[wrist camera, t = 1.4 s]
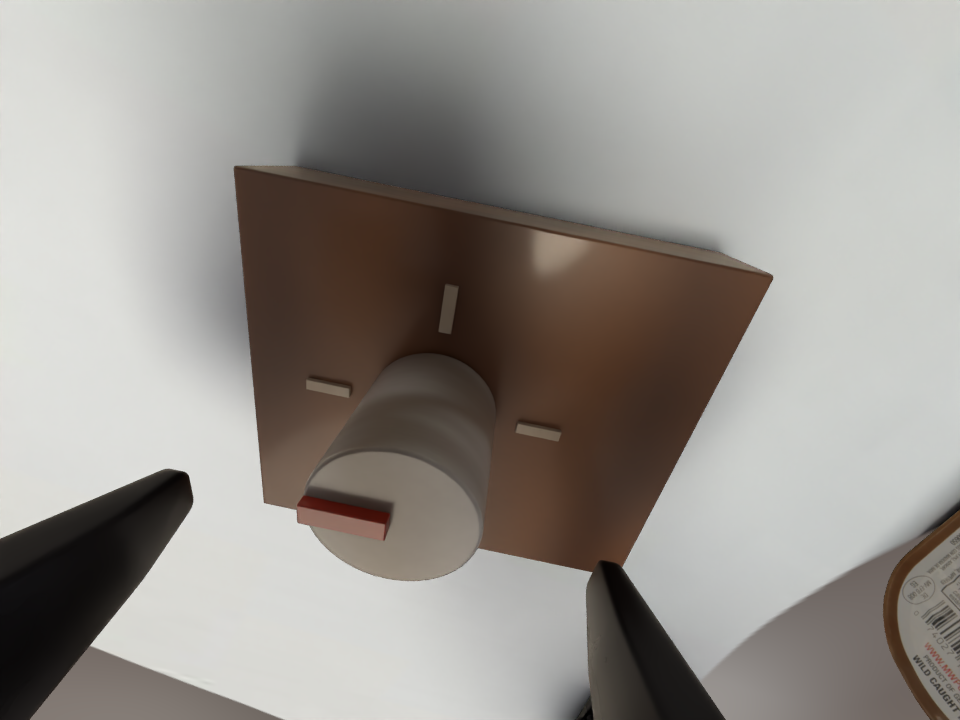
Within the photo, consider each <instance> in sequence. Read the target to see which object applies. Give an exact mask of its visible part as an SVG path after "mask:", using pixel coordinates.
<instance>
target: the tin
mask: <svg viewBox="0 0 960 720" xmlns="http://www.w3.org/2000/svg"><path fill="white" fill-rule="evenodd" d="M883 618H884V627H885V633H886V638H887V642H888V645H889V649H890V652H891V654H892V657H893V659H894V661H895V663H896V665H897V667H898V668H899V670H900V672H901V674H902V676H903V678H904V679H905V681H906V683H907V685H908V687H909V689H910V690H911V692H912V693H913V695H914V697H915V699H916V700H917V702H918V703H919V705H920V706H921V708H922V709H923V710H924V712H925V713H926V714H927V716H928V717H929V718H930V720H960V510H959V511H957V512H956V513H955V514H954V515H953V516H951V517H950V518H949V519H948V520H947V521H945V522H944V523H943V524H942V525H941V526H939V527H938V528H937V529H936V530H934V531H933V532H932V533H931V534H930V535H928V536H927V537H926V538H925V539H924V540H922V541H921V542H920V543H919V544H918V545H917V546H915V547H914V548H913V549H912V550H911V551H909V552H908V553H907V554H906V555H905V556H904V557H903V558H902V559H901V560H900V562H899V563H898V564H897V566H896V567H895V569H894V570H893V572H892V574H891V577H890V579H889V581H888V584H887V588H886V592H885V595H884V604H883Z"/></svg>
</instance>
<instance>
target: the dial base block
mask: <svg viewBox="0 0 960 720" xmlns="http://www.w3.org/2000/svg"><path fill="white" fill-rule="evenodd" d="M234 177H235V188H236V199H237V210H238V221H239V232H240V243H241V254H242V265H243V276H244V287H245V298H246V309H247V320H248V332H249V343H250V354H251V365H252V376H253V387H254V398H255V409H256V420H257V431H258V442H259V453H260V464H261V475H262V486H263V497H264V503H267V504H271V505H276V506H281V507H286V508H290V509H295V510H297V504H298V502H299V501H300V499H301V498H302V496H303V495H304V490H305V486H306V483H307V481H308V478H309V476H310V475H311V473H312V472H313V470H314V469H315V467H316V466H317V464H318V463H319V462H320V460H321V459H322V457H323V456H324V454H325V453H326V451H327V450H328V449H329V447H330V446H331V444H332V443H333V441H334V440H335V438H336V437H337V435H338V434H339V433H340V431H341V430H342V428H343V427H344V425H345V424H346V422H347V421H348V420H349V418H350V417H351V415H352V414H353V412H354V411H355V409H356V408H357V407H358V405H359V404H360V402H361V401H362V399H363V398H364V396H365V395H366V394H367V392H368V391H369V389H370V388H371V386H372V385H373V383H374V382H375V380H376V379H377V378H378V376H379V375H380V373H381V372H382V371H383V370H384V369H385V368H386V367H387V366H389V365H390V364H391V363H393V362H394V361H396V360H398V359H400V358H403V357H406V356H409V355H413V354H421V353H434V354H441V355H445V356H449V357H452V358H454V359H457V360H459V361H461V362H463V363H464V364H466V365H468V366H469V367H470V368H472V369H473V370H474V371H475V372H476V373H478V374H479V375H480V377H481V378H482V379H483V380H484V381H485V383H486V384H487V386H488V387H489V389H490V391H491V393H492V395H493V398H494V402H495V407H496V420H495V429H494V438H493V447H492V456H491V465H490V474H489V483H488V492H487V501H486V510H485V520H484V529H483V535H482V539H481V542H480V544H479V546H478V548H480V549H485V550H489V551H494V552H499V553H504V554H508V555H513V556H518V557H523V558H527V559H532V560H537V561H541V562H546V563H551V564H556V565H560V566H565V567H570V568H575V569H579V570H584V571H589V572H593V571H594V569H595V566H596V564H597V563H598V561H600V560H605V561H610V562H615V563H618V564H619V565H620V566H621V567H622V566H623V564H624V562H625V561H626V559H627V557H628V555H629V553H630V551H631V549H632V547H633V545H634V543H635V541H636V540H637V538H638V536H639V534H640V532H641V530H642V528H643V526H644V524H645V522H646V520H647V519H648V517H649V515H650V513H651V511H652V509H653V507H654V505H655V503H656V501H657V499H658V498H659V496H660V494H661V492H662V490H663V488H664V486H665V484H666V482H667V480H668V479H669V477H670V475H671V473H672V471H673V469H674V467H675V465H676V463H677V461H678V459H679V458H680V456H681V454H682V452H683V450H684V448H685V446H686V444H687V442H688V440H689V438H690V437H691V435H692V433H693V431H694V429H695V427H696V425H697V423H698V421H699V419H700V417H701V416H702V414H703V412H704V410H705V408H706V406H707V404H708V402H709V400H710V398H711V396H712V395H713V393H714V391H715V389H716V387H717V385H718V383H719V381H720V379H721V377H722V375H723V374H724V372H725V370H726V368H727V366H728V364H729V362H730V360H731V358H732V356H733V354H734V353H735V351H736V349H737V347H738V345H739V343H740V341H741V339H742V337H743V335H744V333H745V332H746V330H747V328H748V326H749V324H750V322H751V320H752V318H753V316H754V314H755V312H756V311H757V309H758V307H759V305H760V303H761V301H762V299H763V297H764V295H765V293H766V291H767V290H768V288H769V286H770V284H771V282H772V280H773V276H772V275H771V274H769V273H767V272H764V271H762V270H760V269H757V268H755V267H753V266H750V265H748V264H746V263H744V262H741V261H739V260H737V259H734V258H732V257H730V256H728V255H725V254H723V253H720V252H715V251H710V250H705V249H700V248H696V247H691V246H686V245H681V244H676V243H671V242H666V241H661V240H656V239H651V238H646V237H642V236H637V235H632V234H627V233H622V232H617V231H612V230H607V229H602V228H597V227H592V226H588V225H583V224H578V223H573V222H568V221H563V220H558V219H553V218H548V217H543V216H539V215H534V214H529V213H524V212H519V211H514V210H509V209H504V208H499V207H494V206H489V205H485V204H480V203H475V202H470V201H465V200H460V199H455V198H450V197H445V196H440V195H435V194H431V193H426V192H421V191H416V190H411V189H406V188H401V187H396V186H391V185H386V184H381V183H377V182H372V181H367V180H362V179H357V178H352V177H347V176H342V175H337V174H332V173H327V172H323V171H318V170H313V169H308V168H303V167H298V166H235V167H234Z"/></svg>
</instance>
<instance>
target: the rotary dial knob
mask: <svg viewBox="0 0 960 720" xmlns="http://www.w3.org/2000/svg"><path fill="white" fill-rule="evenodd" d="M495 420H496V407H495V402H494V398H493V395H492V393H491V391H490V389H489V387H488V386H487V384H486V383H485V381H484V380H483V379H482V378H481V377H480V375H479V374H478V373H476V372H475V371H474V370H473V369H472V368H470V367H469V366H468V365H466V364H464V363H463V362H461V361H459V360H457V359H454V358H452V357H449V356H445V355H441V354H434V353H421V354H413V355H409V356H406V357H403V358H400V359H398V360H396V361H394V362H393V363H391V364H390V365H389V366H387V367H386V368H385V369H384V370H383V371H382V372H381V373H380V375H379V376H378V378H377V379H376V380H375V382H374V383H373V385H372V386H371V388H370V389H369V391H368V392H367V394H366V395H365V396H364V398H363V399H362V401H361V402H360V404H359V405H358V407H357V408H356V409H355V411H354V412H353V414H352V415H351V417H350V418H349V420H348V421H347V422H346V424H345V425H344V427H343V428H342V430H341V431H340V433H339V434H338V435H337V437H336V438H335V440H334V441H333V443H332V444H331V446H330V447H329V449H328V450H327V451H326V453H325V454H324V456H323V457H322V459H321V460H320V462H319V463H318V464H317V466H316V467H315V469H314V470H313V472H312V473H311V475H310V476H309V478H308V481H307V483H306V486H305V490H304V495H303V496H302V498H301V499H300V501H299V502H298V504H297V522H298V523H300V524H305V525H309V526H310V528H311V529H312V531H313V532H314V534H315V536H316V537H317V538H318V539H319V541H320V542H321V543H322V544H323V545H324V546H325V547H326V548H327V549H328V550H329V551H330V552H331V553H333V554H334V555H335V556H336V557H338V558H339V559H341V560H342V561H344V562H345V563H347V564H349V565H351V566H352V567H354V568H356V569H359V570H361V571H363V572H366V573H369V574H372V575H374V576H378V577H382V578H386V579H392V580H401V581H421V580H429V579H434V578H438V577H441V576H444V575H447V574H449V573H451V572H453V571H455V570H457V569H458V568H460V567H462V566H463V565H464V564H465V563H466V562H467V561H468V560H469V559H470V558H471V557H472V556H473V555H474V553H475V552H476V550H477V548H478V546H479V544H480V542H481V539H482V535H483V529H484V520H485V510H486V501H487V492H488V483H489V474H490V465H491V456H492V447H493V438H494V429H495Z"/></svg>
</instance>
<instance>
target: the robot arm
mask: <svg viewBox="0 0 960 720" xmlns="http://www.w3.org/2000/svg"><path fill="white" fill-rule="evenodd" d="M192 505H193V494H192V489H191V484H190V479H189V475H188V474H187V473H186V472H183V471H178V470H173V469H164V470H161V471H159V472H156V473H154V474H152V475H149V476H147V477H145V478H142V479H140V480H138V481H135V482H133V483H130V484H128V485H126V486H123V487H121V488H119V489H116V490H114V491H112V492H109V493H107V494H105V495H102V496H100V497H97V498H95V499H93V500H90V501H88V502H86V503H83V504H81V505H79V506H76V507H74V508H72V509H69V510H67V511H64V512H62V513H60V514H57V515H55V516H53V517H50V518H48V519H46V520H43V521H41V522H39V523H36V524H34V525H31V526H29V527H27V528H24V529H22V530H20V531H17V532H15V533H13V534H10V535H8V536H6V537H3V538H1V539H0V720H30V718H31V717H32V716H33V715H34V714H35V712H36V711H37V710H38V709H39V707H40V706H41V705H42V704H43V702H44V701H45V700H46V699H47V698H48V696H49V695H50V694H51V693H52V691H53V690H54V689H55V688H56V686H57V685H58V684H59V683H60V682H61V680H62V679H63V678H64V676H65V675H66V674H67V673H68V672H69V670H70V669H71V668H72V667H73V665H74V664H75V663H76V662H77V661H78V659H79V658H80V657H81V656H82V654H83V653H84V652H85V651H86V650H87V648H88V647H89V646H90V645H91V643H92V642H93V641H94V640H95V638H96V637H97V636H98V635H99V633H100V632H101V631H102V630H103V629H104V627H105V626H106V625H107V624H108V622H109V621H110V620H111V619H112V617H113V616H114V615H115V614H116V613H117V611H118V610H119V609H120V608H121V606H122V605H123V604H124V603H125V601H126V600H127V599H128V598H129V597H130V595H131V594H132V593H133V592H134V590H135V589H136V588H137V586H138V585H139V584H140V583H141V581H142V580H143V579H144V577H145V576H146V575H147V573H148V572H149V570H150V569H151V568H152V566H153V565H154V563H155V562H156V560H157V559H158V557H159V556H160V554H161V553H162V551H163V550H164V548H165V547H166V545H167V544H168V542H169V541H170V539H171V538H172V536H173V535H174V534H175V532H176V531H177V529H178V528H179V526H180V525H181V523H182V522H183V520H184V519H185V517H186V516H187V514H188V513H189V511H190V510H191V507H192ZM586 613H587V647H588V673H589V684H590V693H591V696H590V698H589V699H588V701H587V703H586V704H585V706H584V708H583V709H582V711H581V713H580V714H579V716H578V718H577V719H576V720H726V719H725V718H724V717H723V715H722V714H721V712H720V711H719V709H718V708H717V706H716V705H715V703H714V702H713V700H712V699H711V697H710V696H709V695H708V693H707V692H706V690H705V689H704V687H703V686H702V684H701V683H700V681H699V680H698V678H697V677H696V675H695V674H694V673H693V671H692V670H691V668H690V667H689V665H688V664H687V662H686V661H685V659H684V658H683V656H682V655H681V653H680V652H679V650H678V649H677V648H676V646H675V645H674V643H673V642H672V640H671V639H670V637H669V636H668V634H667V633H666V631H665V630H664V628H663V627H662V626H661V624H660V623H659V621H658V620H657V618H656V617H655V615H654V614H653V612H652V611H651V609H650V608H649V606H648V605H647V604H646V602H645V601H644V599H643V598H642V596H641V595H640V593H639V592H638V590H637V589H636V587H635V586H634V584H633V583H632V582H631V580H630V579H629V577H628V576H627V574H626V573H625V571H624V570H623V568H622V567H621V566H620V565H619V564H618V563H615V562H610V561H605V560H600V561H598V563H597V564H596V566H595V569H594V571H593V573H592V575H591V577H590V579H589V581H588V584H587V588H586Z"/></svg>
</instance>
